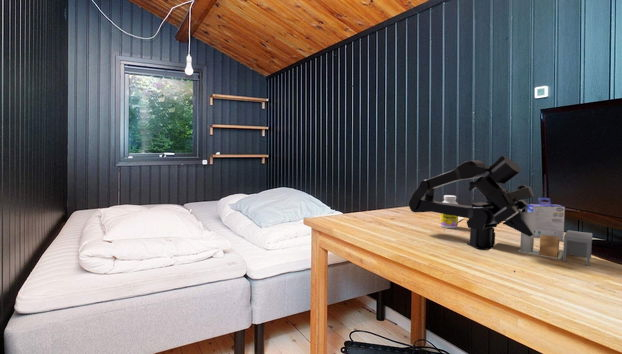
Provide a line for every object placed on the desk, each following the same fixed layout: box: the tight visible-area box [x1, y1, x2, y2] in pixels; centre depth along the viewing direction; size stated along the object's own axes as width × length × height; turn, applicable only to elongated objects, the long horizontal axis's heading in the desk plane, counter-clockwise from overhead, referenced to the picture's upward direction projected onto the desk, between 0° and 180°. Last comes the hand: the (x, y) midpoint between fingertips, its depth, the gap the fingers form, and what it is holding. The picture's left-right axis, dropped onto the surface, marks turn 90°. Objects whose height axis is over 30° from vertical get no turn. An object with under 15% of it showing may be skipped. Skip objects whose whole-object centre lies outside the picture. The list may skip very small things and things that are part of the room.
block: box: [538, 235, 560, 259], centre depth 92 cm, size 4×4×5 cm
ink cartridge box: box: [526, 197, 566, 242], centre depth 113 cm, size 10×6×14 cm, turn 79°
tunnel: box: [562, 229, 594, 267], centre depth 88 cm, size 5×9×8 cm, turn 137°
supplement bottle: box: [439, 194, 459, 229], centre depth 133 cm, size 7×7×13 cm
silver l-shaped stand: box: [516, 211, 563, 260], centre depth 94 cm, size 10×6×12 cm, turn 47°
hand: (532, 234), depth 95 cm, fingers open, 3 cm apart
